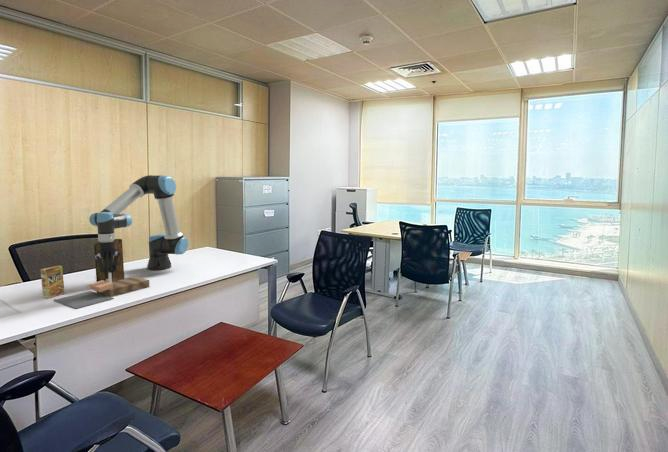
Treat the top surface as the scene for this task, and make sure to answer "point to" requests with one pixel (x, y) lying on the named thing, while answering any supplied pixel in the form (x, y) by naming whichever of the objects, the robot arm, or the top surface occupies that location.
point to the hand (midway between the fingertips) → (109, 284)
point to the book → (119, 272)
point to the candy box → (52, 281)
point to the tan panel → (126, 286)
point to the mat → (83, 299)
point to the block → (101, 286)
